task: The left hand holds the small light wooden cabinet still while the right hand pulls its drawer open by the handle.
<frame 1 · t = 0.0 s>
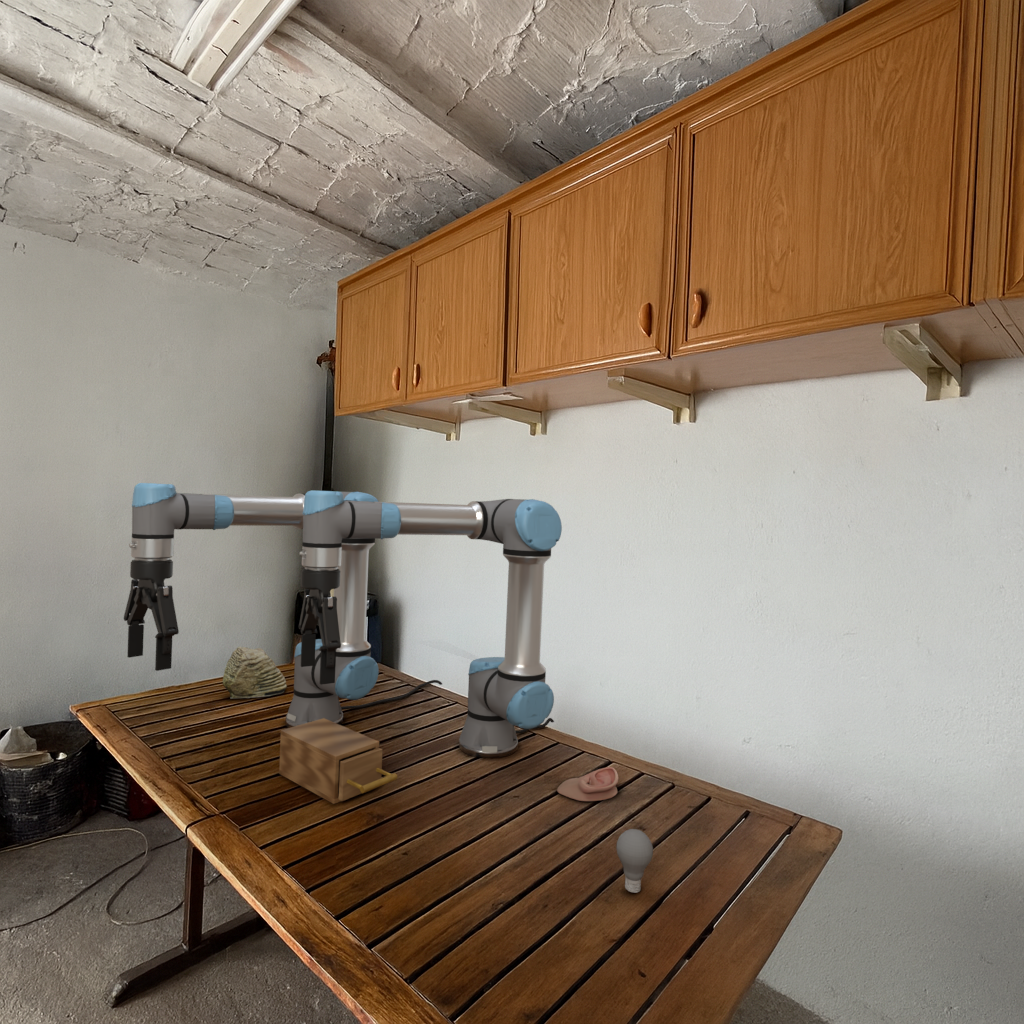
left hand: (148, 662, 129), 28 cm above the table, tool pointing down, fingers open, 13 cm apart
right hand: (316, 674, 126), 28 cm above the table, tool pointing down, fingers open, 13 cm apart
drawer: (343, 765, 138), point 5 cm above the table, slide at 0.7 cm
fossil: (254, 694, 198), on the table
cabinet: (327, 779, 142), on the table
anatomical model: (587, 791, 142), on the table
light bulb: (632, 891, 106), on the table
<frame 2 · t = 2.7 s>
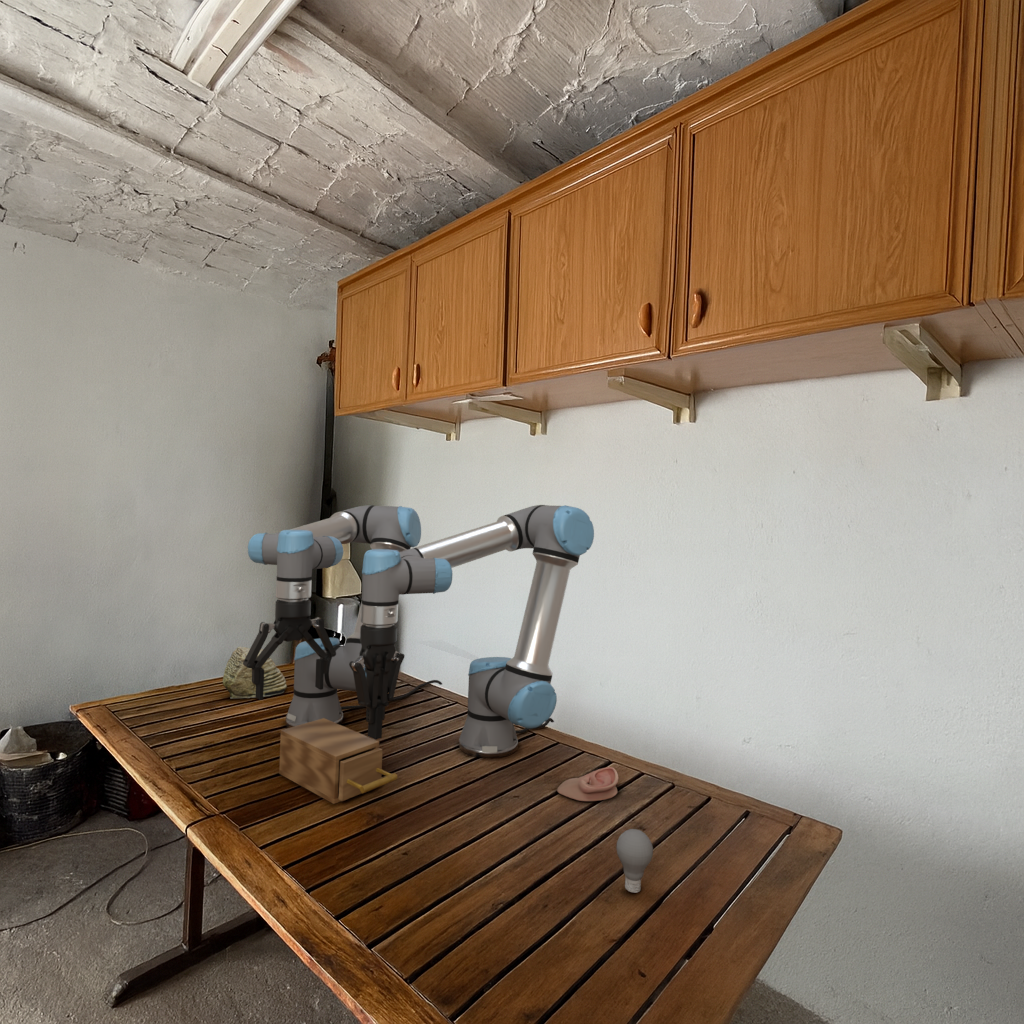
left hand: (290, 693, 142), 19 cm above the table, tool pointing down, fingers open, 13 cm apart
right hand: (374, 736, 132), 14 cm above the table, tool pointing down, fingers closed
nothing on the table moved.
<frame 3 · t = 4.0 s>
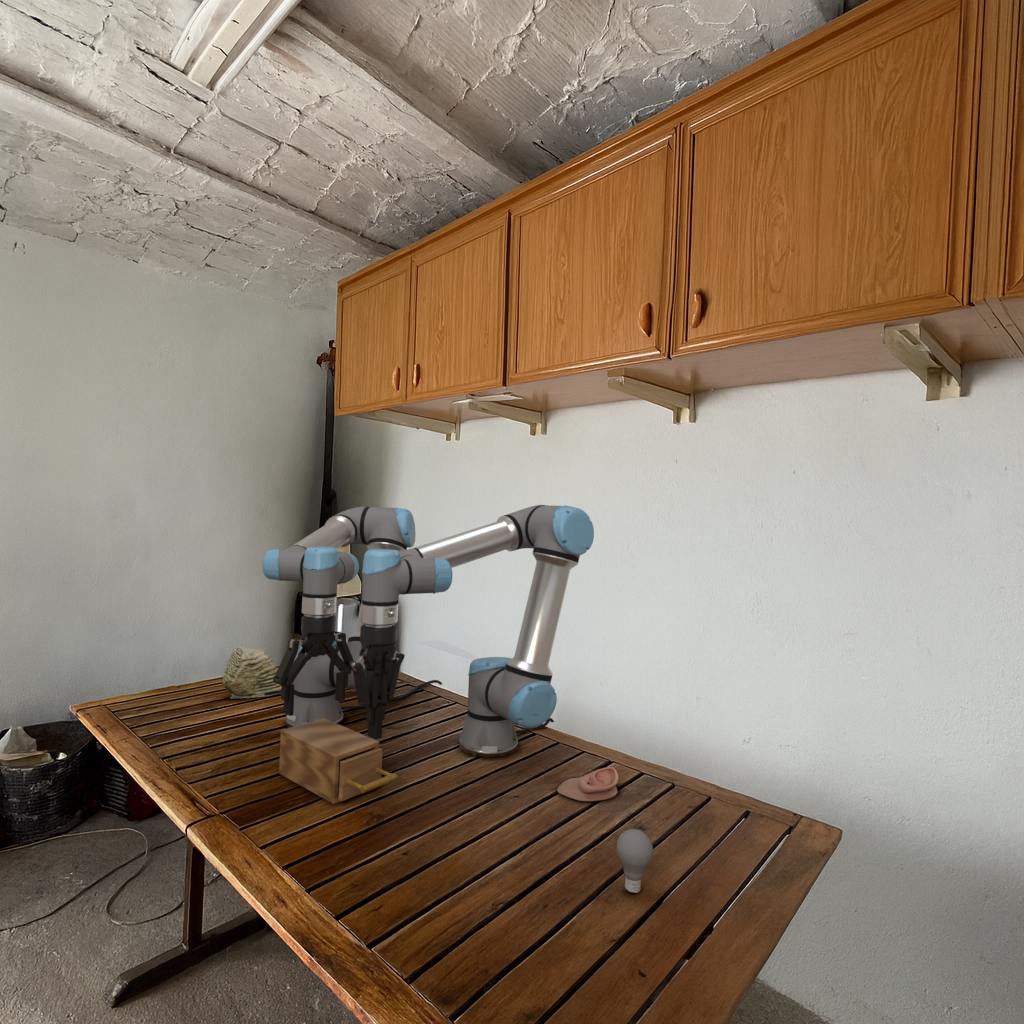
left hand: (315, 707, 145), 15 cm above the table, tool pointing down, fingers open, 13 cm apart
right hand: (374, 736, 132), 14 cm above the table, tool pointing down, fingers closed
nothing on the table moved.
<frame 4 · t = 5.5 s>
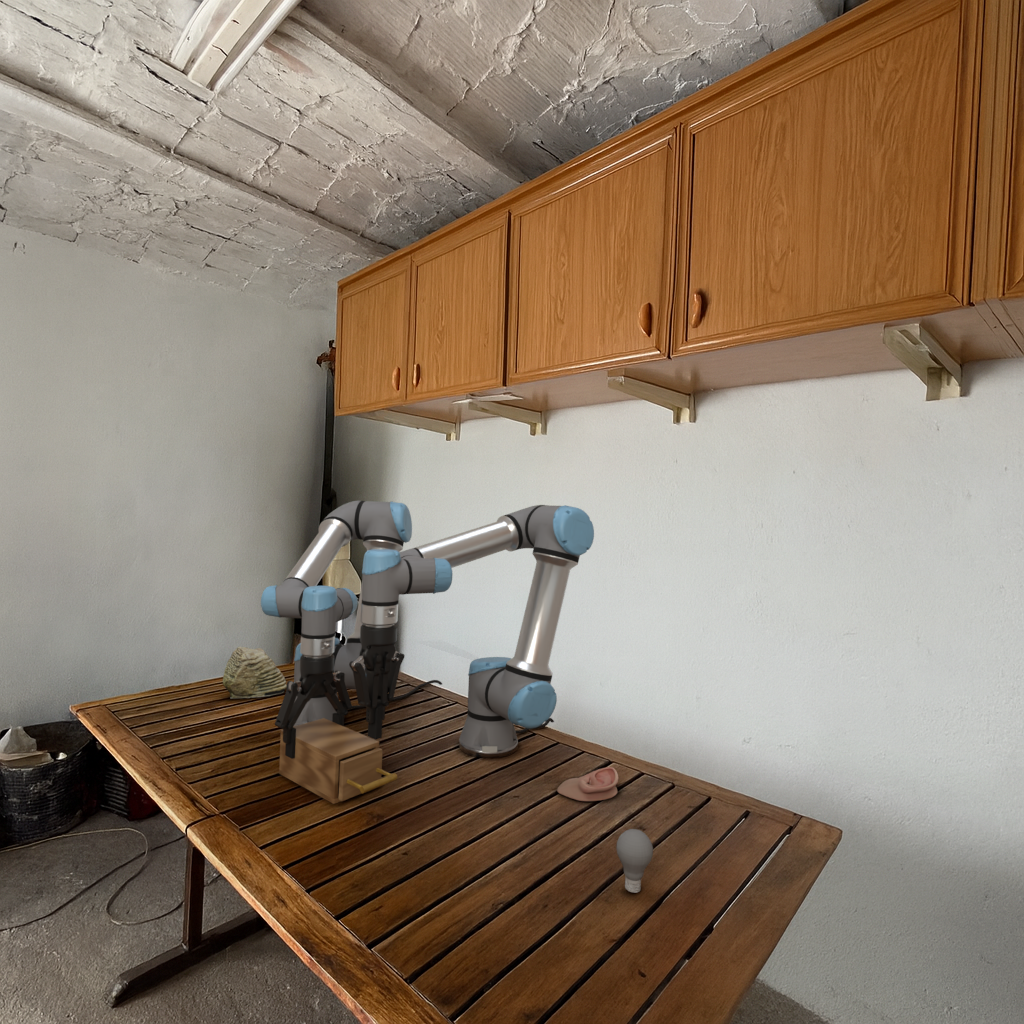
left hand: (313, 749, 145), 5 cm above the table, tool pointing down, fingers closed on cabinet, 11 cm apart
right hand: (374, 736, 132), 14 cm above the table, tool pointing down, fingers closed
cabinet: (327, 779, 142), on the table, touching left hand
everything else where it was.
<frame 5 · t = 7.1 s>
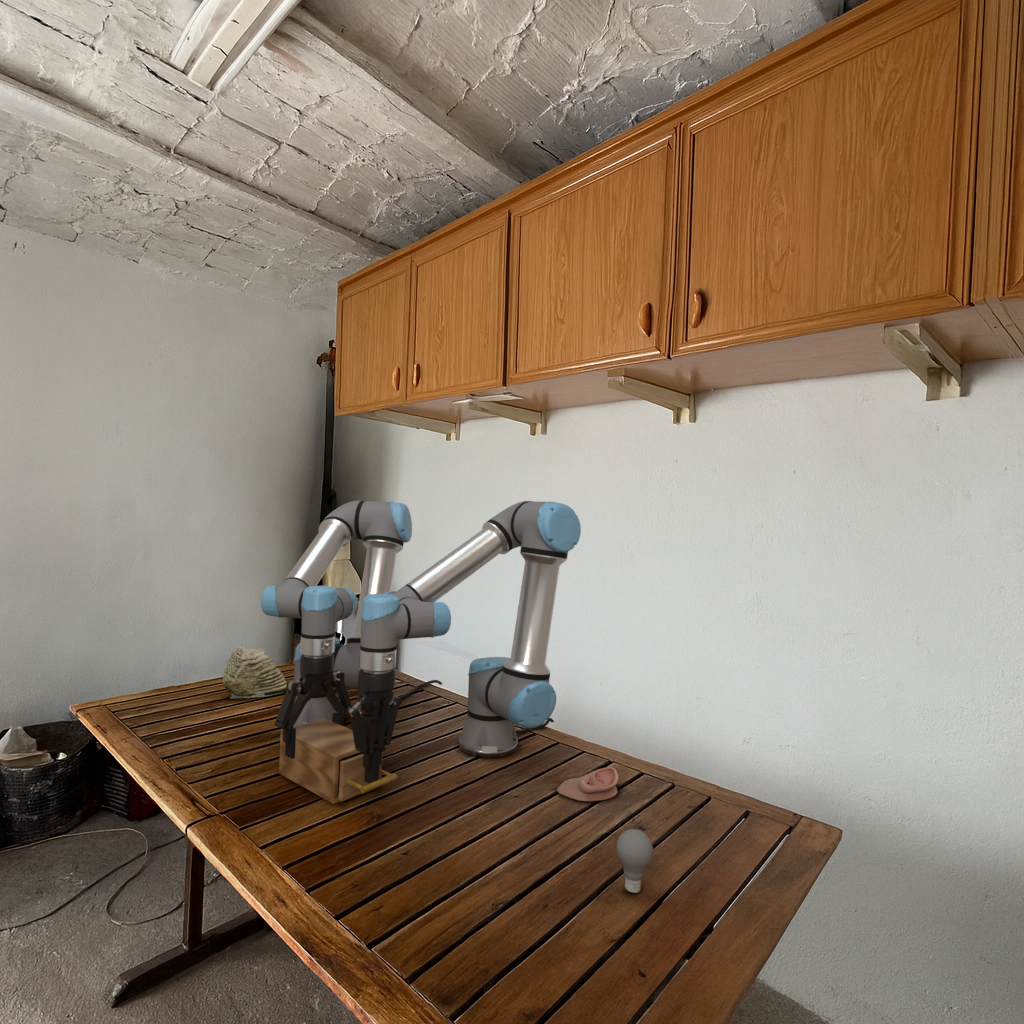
left hand: (313, 748, 145), 5 cm above the table, tool pointing down, fingers closed on cabinet, 11 cm apart
right hand: (371, 781, 132), 4 cm above the table, tool pointing down, fingers closed
cabinet: (327, 779, 142), on the table, touching left hand
everything else where it was.
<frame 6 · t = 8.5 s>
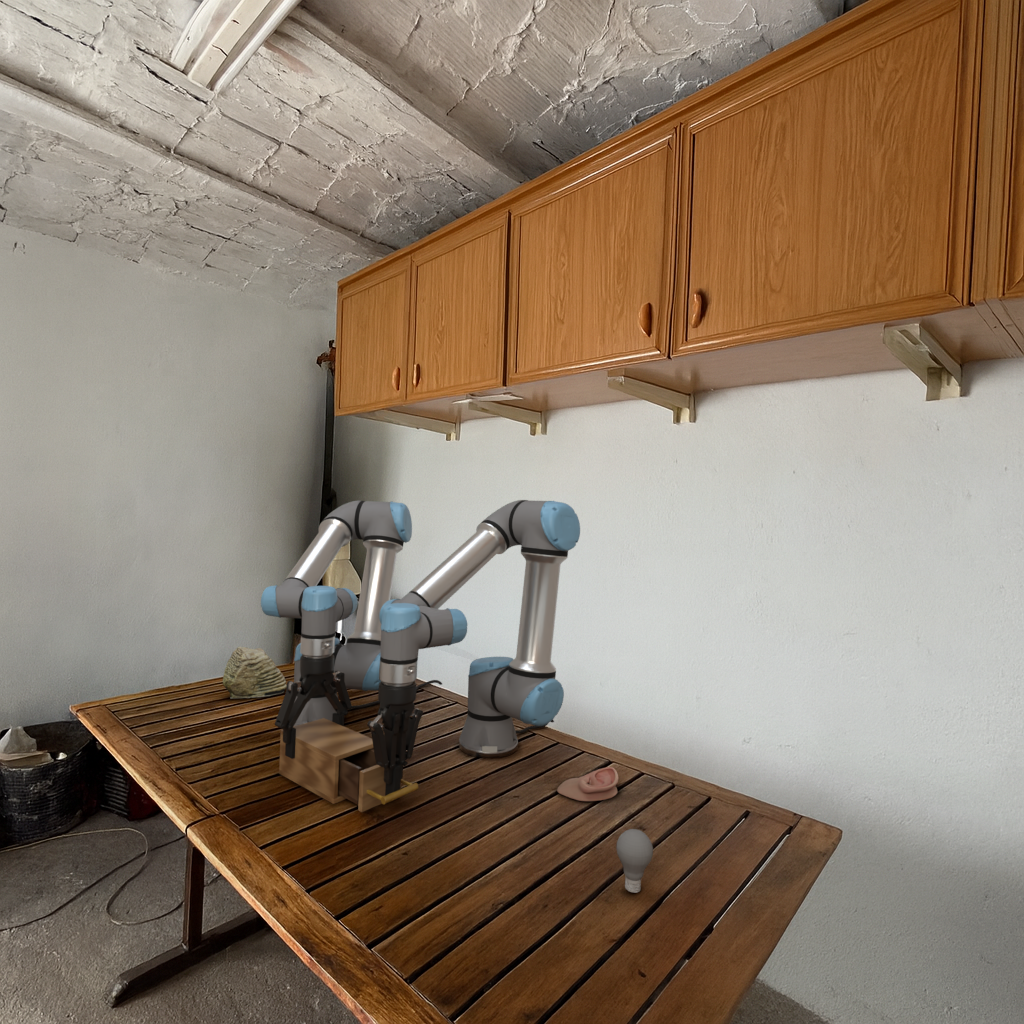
left hand: (313, 749, 145), 5 cm above the table, tool pointing down, fingers closed on cabinet, 11 cm apart
right hand: (392, 797, 128), 3 cm above the table, tool pointing down, fingers closed
drawer: (362, 774, 134), point 5 cm above the table, slide at 7.2 cm, touching right hand
cabinet: (327, 779, 142), on the table, touching left hand
everything else where it was.
when the left hand's fingers open (5 cm above the table, at t = 10.5 s): cabinet stays where it is, on the table.
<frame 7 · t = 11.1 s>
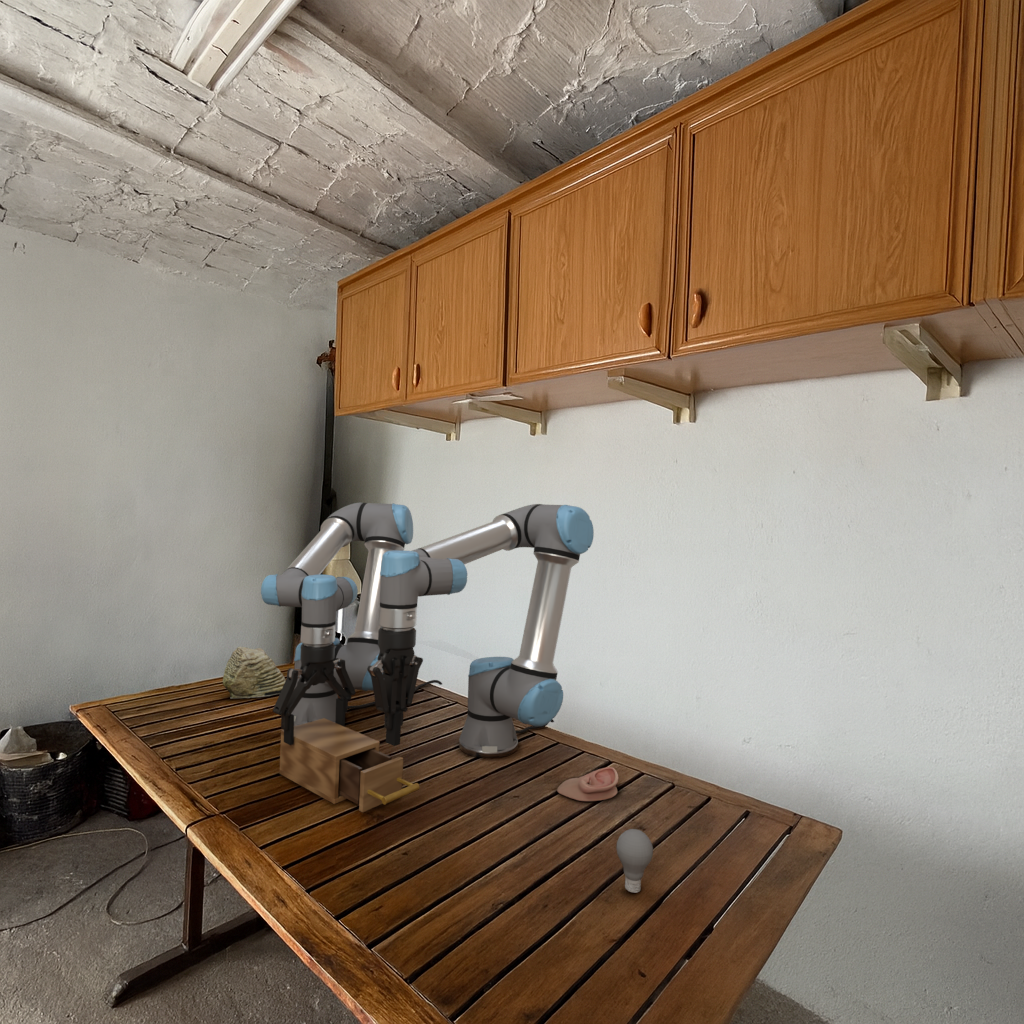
left hand: (315, 734, 145), 9 cm above the table, tool pointing down, fingers open, 13 cm apart
right hand: (392, 743, 128), 14 cm above the table, tool pointing down, fingers closed
drawer: (363, 774, 134), point 5 cm above the table, slide at 7.3 cm
cabinet: (327, 779, 142), on the table
everything else where it was.
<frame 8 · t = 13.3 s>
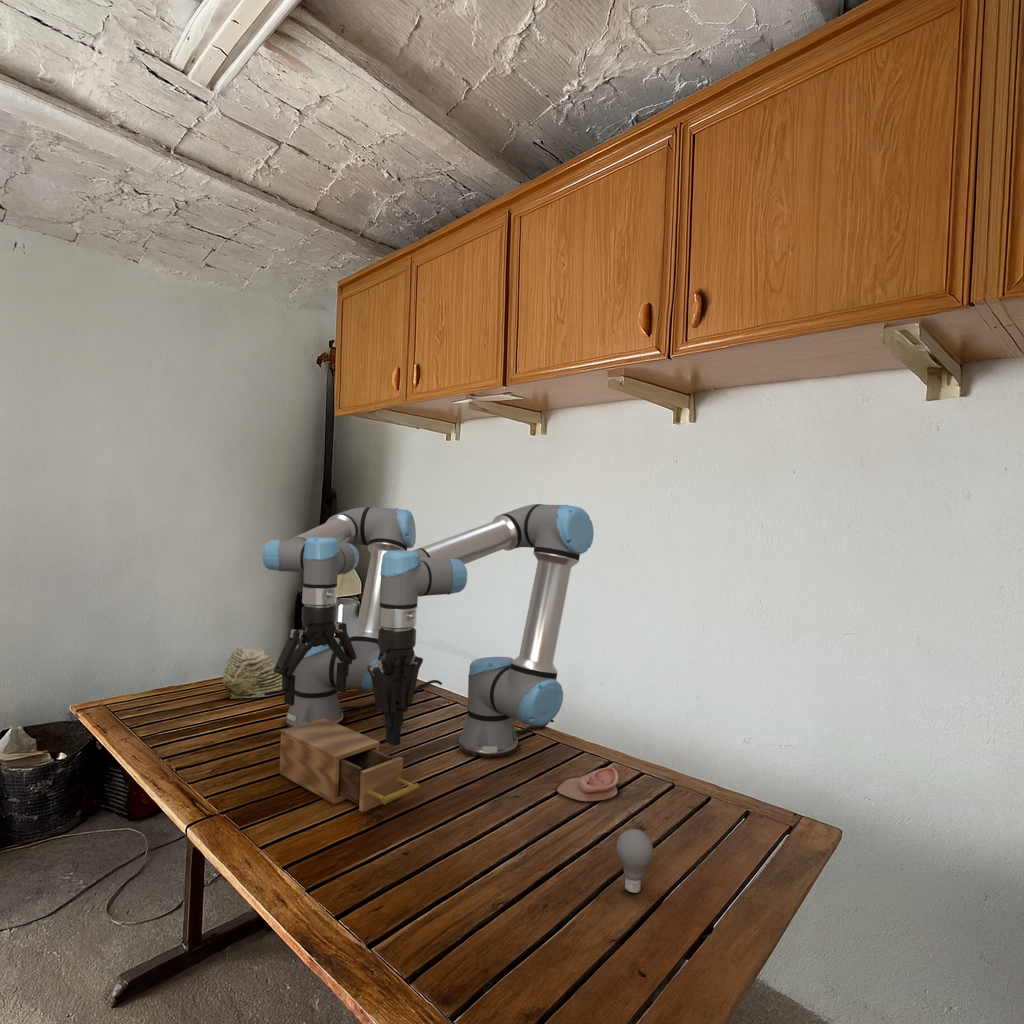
left hand: (315, 697, 145), 17 cm above the table, tool pointing down, fingers open, 13 cm apart
right hand: (392, 743, 128), 14 cm above the table, tool pointing down, fingers closed
nothing on the table moved.
at the end: drawer slide at 7.3 cm; cabinet tilted 0°; cabinet never tilted more than 1° during the clip; cabinet moved 0.1 cm from its start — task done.
